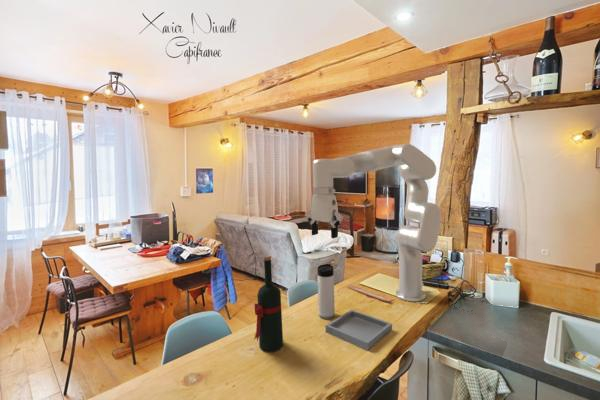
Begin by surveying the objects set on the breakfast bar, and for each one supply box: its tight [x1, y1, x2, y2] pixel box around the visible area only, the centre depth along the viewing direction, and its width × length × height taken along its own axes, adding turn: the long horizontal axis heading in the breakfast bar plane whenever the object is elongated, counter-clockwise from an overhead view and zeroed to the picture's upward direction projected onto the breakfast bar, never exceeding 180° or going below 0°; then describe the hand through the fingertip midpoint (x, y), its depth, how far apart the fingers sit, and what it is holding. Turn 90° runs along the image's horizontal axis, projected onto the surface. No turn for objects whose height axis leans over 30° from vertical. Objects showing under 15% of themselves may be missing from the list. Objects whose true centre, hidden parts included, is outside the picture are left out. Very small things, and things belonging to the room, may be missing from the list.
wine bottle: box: [253, 254, 284, 353], centre depth 97 cm, size 8×10×30 cm
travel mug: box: [317, 263, 336, 320], centre depth 117 cm, size 6×7×20 cm
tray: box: [324, 309, 393, 352], centre depth 106 cm, size 16×17×2 cm
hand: (324, 236), depth 115 cm, fingers open, 9 cm apart
